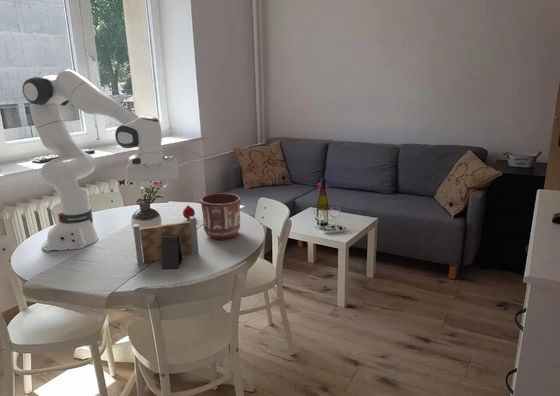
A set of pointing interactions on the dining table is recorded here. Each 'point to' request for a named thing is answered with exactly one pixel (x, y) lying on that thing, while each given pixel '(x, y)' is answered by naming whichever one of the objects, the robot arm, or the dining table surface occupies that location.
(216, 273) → the dining table surface
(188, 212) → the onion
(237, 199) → the pottery
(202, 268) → the dining table surface
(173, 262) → the phone stand
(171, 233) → the door
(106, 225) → the dining table surface
